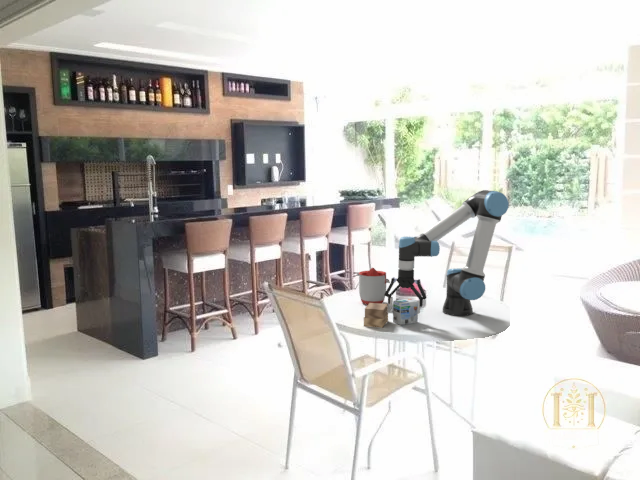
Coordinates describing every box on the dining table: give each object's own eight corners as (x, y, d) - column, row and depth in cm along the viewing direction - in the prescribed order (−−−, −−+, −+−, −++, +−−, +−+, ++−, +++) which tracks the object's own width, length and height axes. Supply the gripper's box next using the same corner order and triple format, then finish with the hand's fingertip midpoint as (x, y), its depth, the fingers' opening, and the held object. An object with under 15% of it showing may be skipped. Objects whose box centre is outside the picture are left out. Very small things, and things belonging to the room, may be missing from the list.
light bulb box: (400, 325, 280) (400, 303, 279) (392, 322, 286) (392, 300, 285) (418, 322, 285) (418, 300, 284) (410, 319, 291) (410, 298, 290)
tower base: (387, 321, 287) (388, 313, 287) (382, 328, 276) (382, 319, 276) (370, 320, 290) (370, 311, 290) (363, 326, 279) (363, 317, 279)
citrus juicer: (389, 307, 315) (389, 270, 313) (357, 305, 318) (357, 269, 316) (390, 300, 331) (390, 265, 328) (359, 299, 333) (359, 264, 331)
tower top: (387, 312, 287) (387, 303, 287) (383, 319, 276) (383, 309, 275) (369, 311, 290) (369, 302, 289) (364, 317, 278) (364, 308, 278)
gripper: (433, 269, 282) (431, 312, 284) (382, 265, 290) (381, 307, 293) (431, 272, 275) (429, 316, 277) (379, 268, 283) (378, 311, 286)
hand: (404, 311), depth 285 cm, fingers open, 13 cm apart
